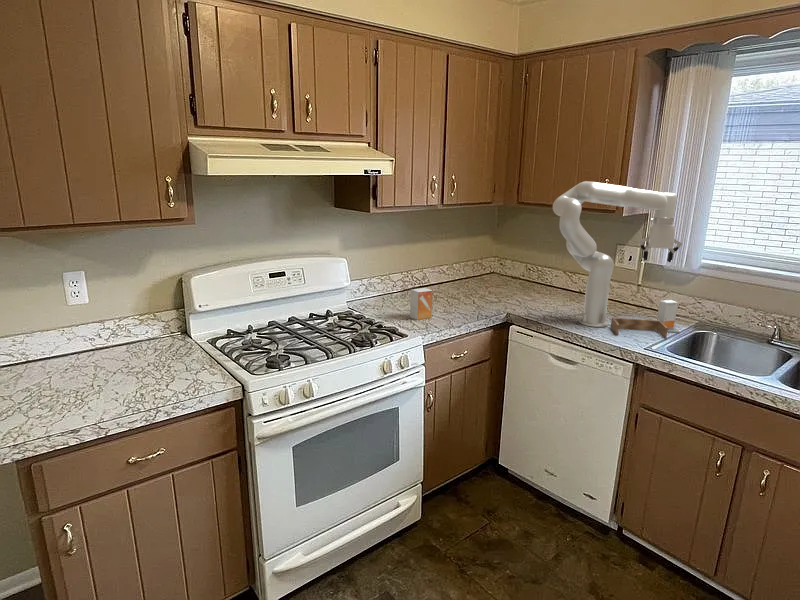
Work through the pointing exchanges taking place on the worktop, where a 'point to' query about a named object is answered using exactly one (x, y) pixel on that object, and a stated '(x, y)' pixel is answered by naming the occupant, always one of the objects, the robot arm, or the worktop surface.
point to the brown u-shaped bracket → (638, 325)
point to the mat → (671, 330)
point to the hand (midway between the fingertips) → (657, 260)
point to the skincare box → (667, 312)
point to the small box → (421, 303)
